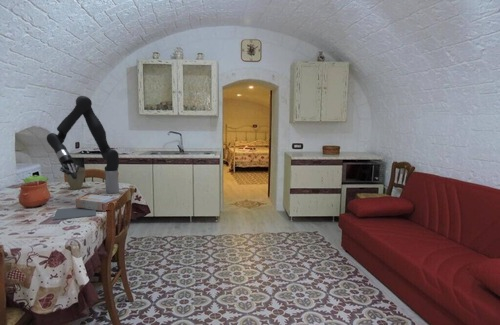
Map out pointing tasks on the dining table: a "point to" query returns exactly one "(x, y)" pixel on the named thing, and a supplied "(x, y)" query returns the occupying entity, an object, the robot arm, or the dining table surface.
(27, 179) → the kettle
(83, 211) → the rubber mat
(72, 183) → the plant pot
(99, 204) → the cracker box
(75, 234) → the dining table surface
